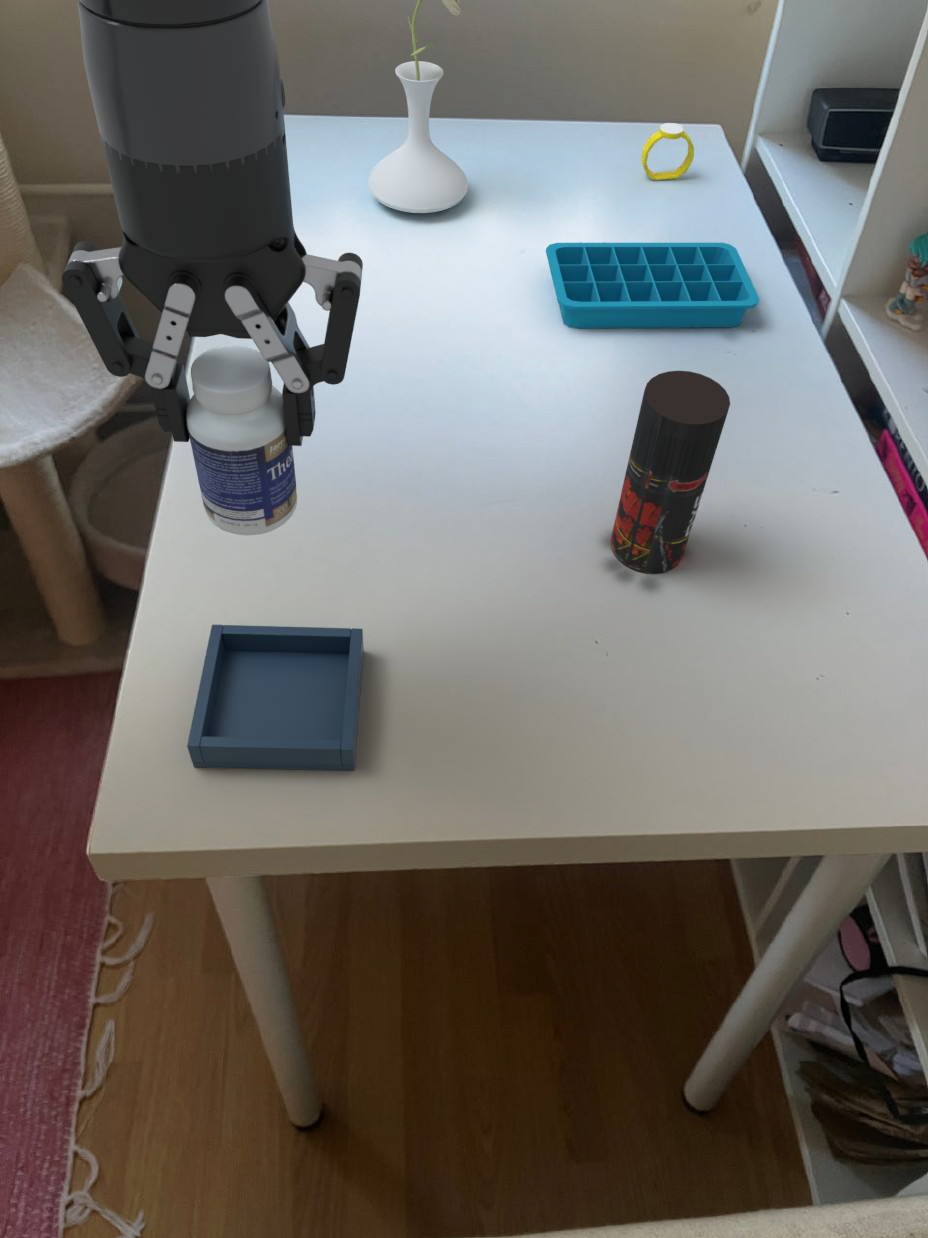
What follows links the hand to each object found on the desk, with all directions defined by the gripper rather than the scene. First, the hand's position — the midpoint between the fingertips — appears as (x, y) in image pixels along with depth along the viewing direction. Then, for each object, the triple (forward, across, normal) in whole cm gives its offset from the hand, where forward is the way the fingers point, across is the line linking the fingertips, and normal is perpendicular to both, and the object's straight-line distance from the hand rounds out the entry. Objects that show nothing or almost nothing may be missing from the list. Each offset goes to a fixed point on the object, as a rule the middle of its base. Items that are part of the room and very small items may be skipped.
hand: (241, 433), depth 54 cm
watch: (+22, +38, +75) cm, 87 cm away
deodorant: (+22, +28, +14) cm, 38 cm away
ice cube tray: (+22, +32, +49) cm, 63 cm away
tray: (+22, +1, -3) cm, 22 cm away
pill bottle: (+6, 0, 0) cm, 6 cm away
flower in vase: (+22, +9, +69) cm, 73 cm away
